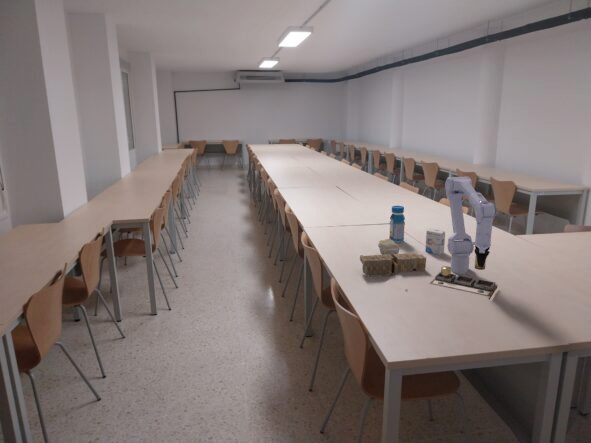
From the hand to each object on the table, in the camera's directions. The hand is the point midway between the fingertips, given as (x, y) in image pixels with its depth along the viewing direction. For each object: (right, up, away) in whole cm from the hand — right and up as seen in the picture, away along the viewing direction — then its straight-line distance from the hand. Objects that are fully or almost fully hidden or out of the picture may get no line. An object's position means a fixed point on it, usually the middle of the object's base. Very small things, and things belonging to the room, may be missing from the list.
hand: (480, 264), depth 174 cm
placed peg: (-11, -7, +10) cm, 17 cm away
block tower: (-31, -6, +23) cm, 39 cm away
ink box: (-3, +1, +49) cm, 49 cm away
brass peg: (0, -1, 0) cm, 2 cm away
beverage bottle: (-18, +7, +71) cm, 73 cm away
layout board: (-6, -10, +4) cm, 12 cm away
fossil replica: (-27, 0, +46) cm, 54 cm away
